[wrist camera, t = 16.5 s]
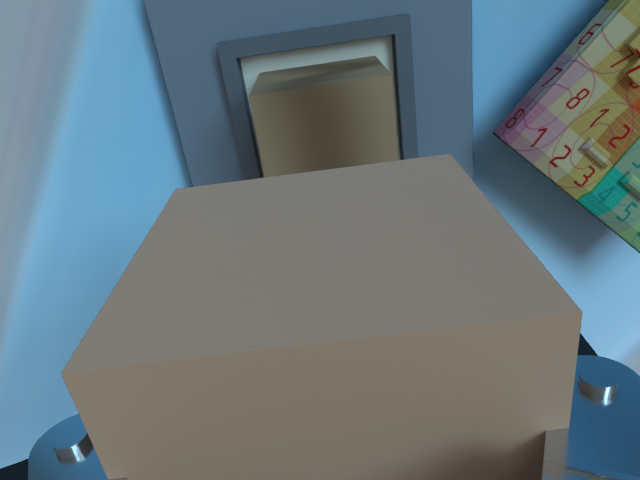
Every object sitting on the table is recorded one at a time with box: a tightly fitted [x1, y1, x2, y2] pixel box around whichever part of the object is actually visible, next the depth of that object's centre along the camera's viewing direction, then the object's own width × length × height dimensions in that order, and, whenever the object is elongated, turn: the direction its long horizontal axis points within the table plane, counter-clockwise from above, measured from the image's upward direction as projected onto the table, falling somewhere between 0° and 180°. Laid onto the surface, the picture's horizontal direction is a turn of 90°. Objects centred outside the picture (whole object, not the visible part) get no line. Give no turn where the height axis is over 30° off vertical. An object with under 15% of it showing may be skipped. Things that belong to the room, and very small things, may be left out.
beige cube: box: [61, 154, 582, 480], centre depth 10 cm, size 6×6×6 cm
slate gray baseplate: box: [144, 0, 473, 187], centre depth 29 cm, size 16×16×2 cm
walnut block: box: [249, 56, 398, 178], centre depth 26 cm, size 6×6×6 cm
